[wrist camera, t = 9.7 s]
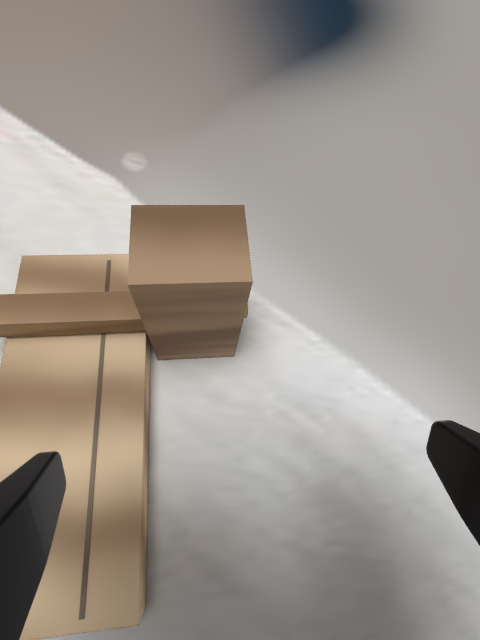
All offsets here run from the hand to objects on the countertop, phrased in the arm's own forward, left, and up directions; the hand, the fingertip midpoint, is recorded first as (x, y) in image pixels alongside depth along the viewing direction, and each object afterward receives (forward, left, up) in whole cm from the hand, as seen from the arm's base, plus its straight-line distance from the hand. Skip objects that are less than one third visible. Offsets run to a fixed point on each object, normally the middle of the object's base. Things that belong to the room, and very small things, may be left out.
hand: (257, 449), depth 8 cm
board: (+4, +9, -14) cm, 16 cm away
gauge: (+9, +6, -14) cm, 17 cm away
